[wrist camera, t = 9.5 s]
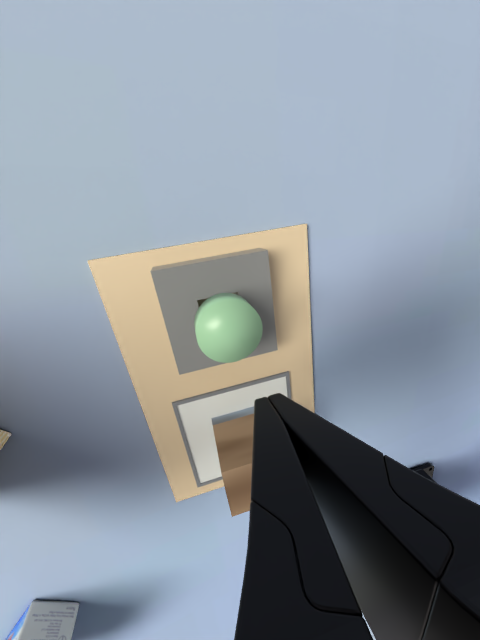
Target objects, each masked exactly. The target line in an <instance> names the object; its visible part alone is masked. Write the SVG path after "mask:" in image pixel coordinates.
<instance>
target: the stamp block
mask: <svg viewBox="0 0 480 640" xmlns="http://www.w3.org/2000/svg"><path fill="white" fill-rule="evenodd" d="M211 419H212V425H213V430H214V436H215V441H216V447H217V452H218V458H219V463H220V469H221V474H222V478H223V482H224V486H225V490H226V494H227V498H228V502H229V506H230V510H231V515H232V517H233V516H236V515H238V514H241V513H244V512H247V511H250V503H251V475H252V450H253V424H254V406H253V407H250V408H246V409H243V410H239V411H236V412H232V413H229V414H225V415H221V416H218V417H214V418H211Z"/></svg>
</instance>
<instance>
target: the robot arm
mask: <svg viewBox="0 0 480 640" xmlns="http://www.w3.org/2000/svg"><path fill="white" fill-rule="evenodd" d="M433 471H434V466H433V465H432V464H431V463H428V464H425V465H423V466H420V467H417V468H414V469H412V470H411V469H409V468H407V467H406V466H404V465H402V464H400V463H399V462H397V461H395V460H394V459H392V458H390V457H388V456H387V455H384V456H383V453H381V452H380V451H378V450H376V449H375V448H373V447H371V446H369V445H368V444H366V443H364V442H363V441H361V440H359V439H358V438H356V437H354V436H352V435H351V434H349V433H347V432H346V431H344V430H342V429H341V428H339V427H337V426H335V425H334V424H332V423H330V422H329V421H327V420H325V419H324V418H322V417H320V416H318V415H317V414H315V413H313V412H312V411H310V410H308V409H307V408H305V407H303V406H301V405H300V404H298V403H296V402H295V401H293V400H291V399H290V398H288V397H286V396H284V395H283V394H281V393H276V394H273V395H269V396H268V398H267V397H262V398H259V399H256V400H255V401H254V424H253V450H252V475H251V503H250V521H249V535H248V548H247V556H246V564H245V572H244V580H243V586H242V593H241V599H240V606H239V612H238V619H237V625H236V631H235V638H234V640H373V638H372V636H371V634H370V631H369V629H368V626H367V624H366V622H365V620H364V619H363V618H362V613H363V615H364V617H365V619H366V621H367V623H368V625H369V627H370V628H371V630H372V632H373V634H374V636H375V638H376V640H480V505H478V504H476V503H474V502H472V501H470V500H468V499H466V498H464V497H462V496H460V495H458V494H456V493H454V492H452V491H450V490H448V489H447V488H445V487H443V486H441V485H439V484H437V483H436V482H435V481H434V480H433V479H432V475H433ZM361 611H362V612H361Z"/></svg>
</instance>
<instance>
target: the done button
mask: <svg viewBox="0 0 480 640" xmlns="http://www.w3.org/2000/svg"><path fill="white" fill-rule="evenodd" d="M194 327H195V333H196V338H197V342H198V345H199V347H200V349H201V351H202V352H203V353H204V354H205V355H206V356H207V357H209V358H210V359H212V360H214V361H217V362H222V363H232V362H236V361H239V360H242V359H244V358H246V357H247V356H249V355H250V354H251V353H252V352H253V351H254V350H255V349H256V347H257V346H258V344H259V342H260V340H261V337H262V331H263V327H262V321H261V318H260V316H259V314H258V313H257V311H256V310H255V309H254V308H253V307H252V306H251V305H250V304H249V303H248V302H247V301H246V300H245V299H244V298H242V297H241V296H239V295H236V294H233V293H219V294H216V295H213V296H211V297H210V298H208V299H207V300H205V301H204V302H203V303H202V304H201V305H200V307H199V308H198V310H197V312H196V315H195V320H194Z"/></svg>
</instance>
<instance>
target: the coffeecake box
mask: <svg viewBox="0 0 480 640" xmlns="http://www.w3.org/2000/svg"><path fill="white" fill-rule="evenodd" d="M10 436H11V433H9V432H6V431H3V430H1V429H0V450H1V449H2V447H3V446H4V444H5V443H6V442H7V440H8V439H9V437H10Z"/></svg>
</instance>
